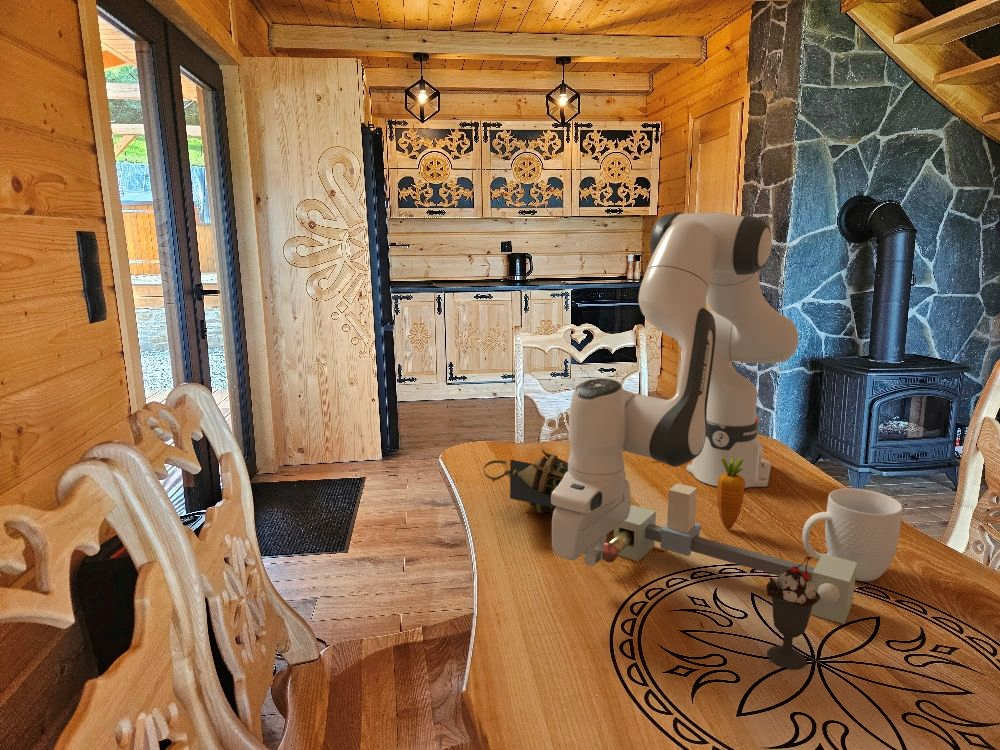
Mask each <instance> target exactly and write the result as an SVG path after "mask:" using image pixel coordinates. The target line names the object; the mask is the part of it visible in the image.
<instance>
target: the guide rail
mask: <svg viewBox="0 0 1000 750" xmlns="http://www.w3.org/2000/svg"><path fill="white" fill-rule="evenodd" d="M656 517H657V511H656V510H653V509H649V508H644V507H641V506H638V505H633V504H630V513H629V516H628V518H627V519H626V520H624V521H623V522H622V523H621V524H619V525H618V526H617V527H616V528H614V529H613V537H612V539H614V538H615V537H616V536H617V535H618V534H620V533H621V532H622V531H623V530H624V529H627V530H631V531H634V540H633V541H632V542H631V543H630V544H629V545H627V546H626V547H625V548H624V549H623V550H622V551H621V552H620V553H618V556H619V557H623V558H625V559H629V560H633V561H636V562H640V561H641V560H642V559H643V558H644V557H645V556H646V555H647V554H648V553H649V552H650V551H651V550H652V549H653V548H655V542H658V543H661V536H660V529H661V528H662V527H663V526H660V525H657V524H656V519H657V518H656ZM691 552H693V553H698V554H699V555H705V556H708V557H709V558H710V557H711V558H713V559H717V560H718V559H719V560H722V561H725V562H728V563H733V564H736V565H740V566H743V567H746V568H749V569H753V570H755V571H756V570H757V571H761V572H762V573H763V572H764V573H768V574H771V575H775V576H777V577H778V576H779V575H780V574H782V573H783V572H784V571H787V570H790V569H791V567H793V566H796V567H798V566H799V565H801V564H802V563H798V562H794V561H791V560H787V559H783V558H779V557H776V556H771V555H768V554H765V553H761V552H757V551H753V550H751V549H750V550H749V549H745V548H742V547H738V546H735V545H731V544H727V543H723V542H720V541H716V540H712V539H708V538H704V537H701V536H699V537H698V536H695V537H694V538H693V539H692V540H691ZM821 554H822V555H821V557H820V559H818V561H817V563H816V565H815V567H814V566H810V565H807V572H808V573H809V574H810V579H809V581H810V582H811V583H812V584H813V586H814V588H815V591H816V592H817V593H818V594H819V595H820V599H819V601H818V602H817V603H816V604H814V605H813V607H812V610H811V614H810V616H811V615H812V616H815V617H818V618H821V619H825V620H828V621H831V622H834V621H835V623H837V622H839V623H838V624H841V623H842V624H841V625H844V624H846V622H847V619H848V617H849V613H850V611H851V608H852V605H853V601H854V600H853V599H854V593H855V584H856V580H855V578H856V569H857V562H853V561H849V560H845V559H841V558H837V557H834V556H830V555H826V554H827V553H821ZM799 569H800V573H802V572H806V570H805V569H806V564H802V565H801V566H800V567H799ZM847 616H848V617H847Z"/></svg>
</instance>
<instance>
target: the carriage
mask: <svg viewBox="0 0 1000 750" xmlns="http://www.w3.org/2000/svg"><path fill="white" fill-rule="evenodd" d="M697 493H698V488H697V487H694V486H690V485H685V484H682V483H676V484H674V485H673V486H672V487H671V488H669V489H668V502H667V503H668V505H667V522H666V523H665V524H664V526H661V527H662V528H661V529H660V536H661V542H660V549H662V550H664V551H665V550H666V551H668V552H669V551H670V552H671V553H676V554H680V555H683V556H686V557H690V555H691V553H692V551H691V540H692V539H693V538H694V537H695V536H698V537H700V534H701V533H700V532H701V530H702V523H699V522H696V513H697V512H696V511H697V510H696V508H697Z"/></svg>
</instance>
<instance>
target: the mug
mask: <svg viewBox="0 0 1000 750" xmlns="http://www.w3.org/2000/svg"><path fill="white" fill-rule="evenodd" d="M902 516H903V505H902V504H901V503H900V502H899V501H898V500H897V499H894V498H893V497H892V496H890V495H886V494H884V493H881V492H877V491H873V490H868V489H862V488H850V487H849V488H848V487H847V488H838V489H834V490H832V491H831V492H830V493H829V494H828V497H827V504H826V511H822V512H821V511H820V512H817V513H816V512H815V514H812V515H810V517H809V518H808V519H807V520H806V521H805V523H804V525H803V527H802V528H803V529H802V534H801V537H802V544H803V546H804V549H805V550H806V552H807V553H808V554H809V555H810V557H813V558H815V559H816V560H817V559H818V560H819V559H820V557H821V555H822V554H823V553H822V552H817V551H815V550H814V548H812V546H811V544H810V532H811V529H812V528H813V526H814V525H815V524H816V523H817V522H820V521H825V523H824V524H825V526H824V527H825V528H824V529H825V530H824V531H825V532H824V533H825V534H824V536H825V547H826V551H827V553H825V554H826V555H830V556H834V557H837V558H841V559H845V560H849V561H853V562H857V569H856V578H855V581H857V582H858V581H859V582H873V581H875V580H877V579H879V578H881V576H882V575H883V574H884V573H885V572H886V571H887V570H888V568H889V567H890V565H891V564H892V561H893V559H894V558H895V554H896V553H897V549H898V545H899V538H900V534H901V525H902V518H903V517H902Z"/></svg>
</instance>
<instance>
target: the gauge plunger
mask: <svg viewBox="0 0 1000 750" xmlns="http://www.w3.org/2000/svg"><path fill="white" fill-rule="evenodd" d="M633 540H634V531H631V530H627V529H624V530H623V531H622V532H621V533H620V534H618V535H617V536H616V537H615V538H614V539H613V538H612V539H611V540H610V541H609V542H607V541H606V542H605V545H604V548H603V552H602V559H601V560H603V561H604V562H607V563H614V561H616V559H618V556H619V555H618V553H620V552H621V551H622V550H623V549H624V548H625V547H626V546H627V545H629V544H630V543H631V542H632V541H633Z"/></svg>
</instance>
